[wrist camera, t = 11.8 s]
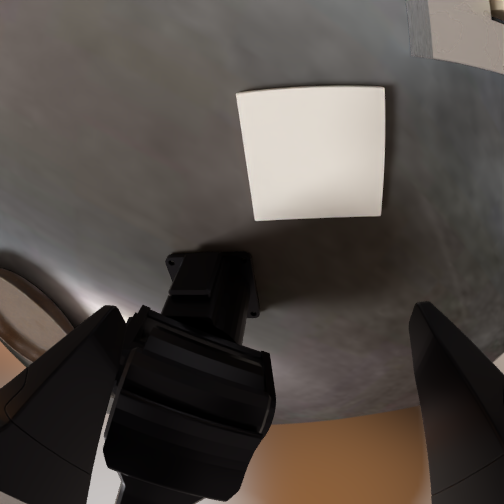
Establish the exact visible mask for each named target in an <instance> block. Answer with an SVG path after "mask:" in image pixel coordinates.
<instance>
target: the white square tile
mask: <svg viewBox="0 0 504 504" xmlns="http://www.w3.org/2000/svg"><path fill="white" fill-rule="evenodd" d="M236 97H237V104H238V110H239V117H240V123H241V130H242V137H243V143H244V150H245V157H246V163H247V170H248V177H249V183H250V190H251V197H252V204H253V210H254V217H255V221H266V220H285V219H307V218H332V217H362V216H381V207H382V194H383V179H384V158H385V88H383V87H381V86H347V85H338V86H302V87H286V88H273V89H262V90H253V91H244V92H238V93H237V94H236Z"/></svg>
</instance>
